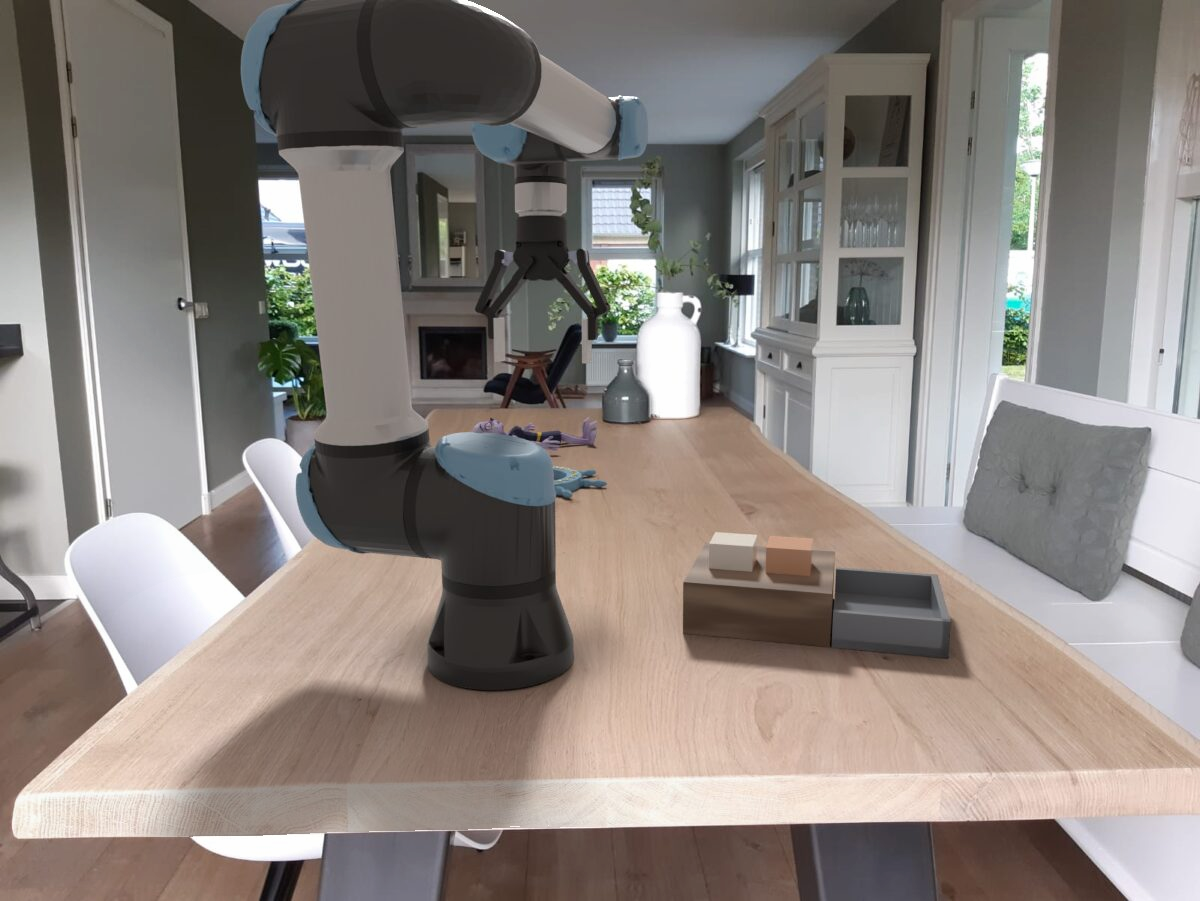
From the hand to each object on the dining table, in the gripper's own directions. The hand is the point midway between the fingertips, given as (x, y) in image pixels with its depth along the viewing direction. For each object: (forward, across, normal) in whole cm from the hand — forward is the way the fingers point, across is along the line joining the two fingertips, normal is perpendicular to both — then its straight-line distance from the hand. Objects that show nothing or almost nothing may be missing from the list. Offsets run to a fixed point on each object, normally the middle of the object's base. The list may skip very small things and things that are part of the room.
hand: (542, 362), depth 137 cm
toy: (+26, +27, -75) cm, 84 cm away
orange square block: (+21, -38, +26) cm, 51 cm away
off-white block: (+21, -32, +26) cm, 46 cm away
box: (+27, -49, +26) cm, 62 cm away
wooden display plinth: (+27, -35, +26) cm, 51 cm away
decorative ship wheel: (+27, +14, -35) cm, 47 cm away
